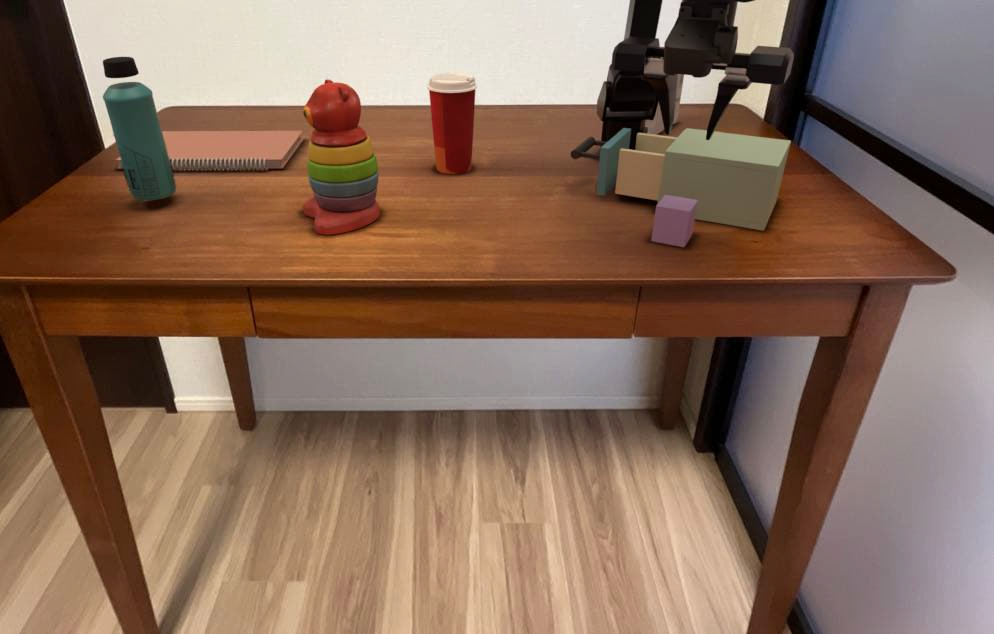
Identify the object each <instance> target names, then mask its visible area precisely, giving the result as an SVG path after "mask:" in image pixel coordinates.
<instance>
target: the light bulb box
mask: <svg viewBox="0 0 994 634" xmlns="http://www.w3.org/2000/svg"><path fill="white" fill-rule="evenodd" d="M684 79H685V75H683V74H678V79H677V90H676V101H675V112H674V121H673V125H674V124H676V123H678V118H679V112H680V106H681V100H682V99H681V98H682V93H683V92H682V91H683V86H684V85H683V84H684ZM645 127H647V128H648V132H647V134H654V135H659V134H660V133H662V132H664V131H665V130H664V125H663V120H662V115H661V110H660V105H659V102H658V106H657V110H656V114H655V117H654V120H646V121H645Z"/></svg>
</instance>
